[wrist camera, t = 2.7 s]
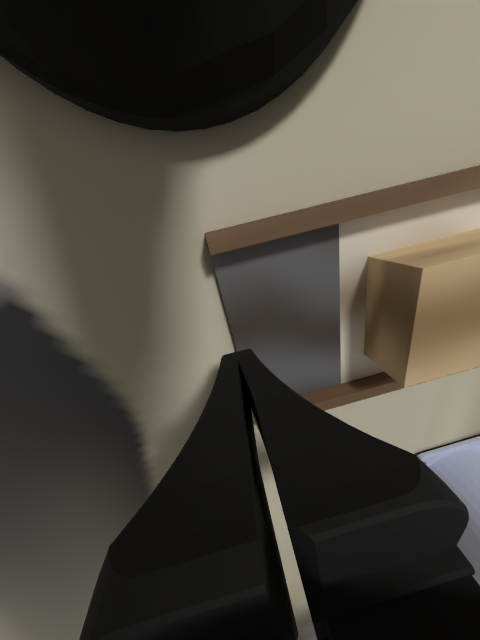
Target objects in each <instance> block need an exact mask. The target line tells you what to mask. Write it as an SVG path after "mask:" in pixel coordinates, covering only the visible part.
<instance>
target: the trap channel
mask: <svg viewBox="0 0 480 640" xmlns="http://www.w3.org/2000/svg"><path fill="white" fill-rule="evenodd" d="M476 228H480V165H479V166H475V167H471V168H467V169H463V170H459V171H455V172H451V173H447V174H443V175H438V176H434V177H430V178H426V179H422V180H418V181H414V182H410V183H406V184H402V185H398V186H394V187H390V188H386V189H382V190H378V191H374V192H370V193H366V194H362V195H357V196H353V197H349V198H345V199H341V200H337V201H333V202H329V203H325V204H321V205H317V206H313V207H309V208H305V209H301V210H297V211H293V212H289V213H285V214H280V215H276V216H272V217H268V218H264V219H260V220H256V221H252V222H248V223H244V224H240V225H236V226H232V227H228V228H224V229H220V230H216V231H212V232H208V233H205V237H206V241H207V244H208V248H209V252H210V255H211V258H212V261H213V265H214V269H215V272H216V276H217V280H218V283H219V287H220V291H221V294H222V298H223V302H224V305H225V309H226V313H227V316H228V320H229V324H230V328H231V331H232V335H233V339H234V342H235V346H236V350H237V352H238V351H241V350H245V349H249V348H250V349H251V350H253V352H254V353H255V355H256V356H257V357H258V358H259V360H260V361H261V362H262V363H263V364H264V365H265V366H266V367H267V368H268V369H269V370H270V371H271V372H272V373H273V374H274V375H275V376H276V377H278V378H279V379H280V380H281V381H282V382H283V383H285V384H286V385H287V386H288V387H290V388H291V389H292V390H293V391H295V392H296V393H298V394H299V395H300V396H302V397H303V398H305V399H306V400H308V401H309V402H311V403H312V404H314V405H315V406H317V407H318V408H320V409H322V410H323V411H325V410H328V409H332V408H335V407H339V406H342V405H346V404H349V403H353V402H356V401H360V400H363V399H367V398H370V397H374V396H378V395H381V394H385V393H388V392H392V391H395V390H399V389H402V388H404V387H402V386H401V385H400V384H399V383H398V382H396V381H395V380H394V379H393V378H392V377H391V376H389V375H388V374H387V373H386V372H385V371H383V370H382V369H381V368H380V367H379V366H377V365H376V364H375V363H374V362H373V361H372V360H370V359H369V358H368V357H367V356H366V355H364V338H365V316H366V294H367V272H368V256H372V255H376V254H380V253H383V252H387V251H391V250H395V249H399V248H403V247H407V246H411V245H414V244H418V243H422V242H426V241H430V240H434V239H438V238H442V237H445V236H449V235H453V234H457V233H461V232H465V231H469V230H473V229H476ZM479 367H480V366H479ZM472 369H473V368H472ZM465 371H466V370H465ZM461 372H462V371H461ZM458 373H459V372H458ZM454 374H455V373H454ZM451 375H452V374H451ZM447 376H448V375H447ZM444 377H445V376H444ZM440 378H441V377H440ZM437 379H438V378H437ZM433 380H434V379H433ZM430 381H431V380H430ZM426 382H427V381H426ZM419 384H420V383H419ZM412 386H413V385H412ZM408 387H409V386H408ZM405 388H406V387H405ZM255 421H256V420H255ZM256 424H257V423H256ZM257 428H258V426H257Z"/></svg>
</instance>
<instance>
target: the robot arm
mask: <svg viewBox="0 0 480 640" xmlns="http://www.w3.org/2000/svg"><path fill="white" fill-rule="evenodd" d="M251 409H252V412H253V414H254V417H255V420H256V423H257V426H258V429H259V431H260V434H261V437H262V440H263V443H264V446H265V448H266V451H267V454H268V457H269V461H270V464H271V467H272V471H273V475H274V478H275V482H276V486H277V490H278V493H279V497H280V501H281V505H282V508H283V512H284V516H285V520H286V523H287V527H288V531H289V535H290V539H291V542H292V546H293V550H294V554H295V557H296V561H297V565H298V569H299V572H300V576H301V580H302V584H303V588H304V591H305V595H306V599H307V603H308V606H309V610H310V614H311V618H312V621H313V625H314V629H315V633H316V636H317V640H480V436H478V437H474V438H471V439H468V440H464V441H461V442H457V443H454V444H451V445H447V446H444V447H441V448H437V449H434V450H430V451H427V452H424V453H420V454H419V455H417V456H416V455H414V454H412V453H410V452H407V451H405V450H403V449H400V448H398V447H396V446H393V445H391V444H389V443H386V442H384V441H382V440H379V439H377V438H375V437H372V436H370V435H368V434H366V433H364V432H362V431H360V430H358V429H356V428H354V427H352V426H350V425H348V424H346V423H345V422H343V421H341V420H339V419H338V418H336V417H334V416H332V415H330V414H329V413H327V412H325V411H323V410H322V409H320V408H318V407H317V406H315V405H314V404H312V403H311V402H309V401H308V400H306V399H305V398H303V397H302V396H300V395H299V394H298V393H296V392H295V391H293V390H292V389H291V388H290V387H288V386H287V385H286V384H285V383H283V382H282V381H281V380H280V379H279V378H278V377H276V376H275V375H274V374H273V373H272V372H271V371H270V370H269V369H268V368H267V367H266V366H265V365H264V364H263V363H262V362H261V361H260V360H259V358H258V357H257V356H256V355H255V353H254V352H253V350H251V349H250V348H249V349H245V350H241V351H238V352H234V353H230V354H227V355H223V356H222V358H221V363H220V367H219V371H218V374H217V377H216V380H215V383H214V386H213V389H212V391H211V394H210V396H209V399H208V401H207V403H206V406H205V408H204V410H203V412H202V414H201V416H200V418H199V420H198V422H197V424H196V426H195V428H194V430H193V432H192V433H191V435H190V437H189V439H188V440H187V442H186V444H185V445H184V447H183V449H182V450H181V452H180V453H179V455H178V457H177V458H176V460H175V461H174V463H173V464H172V466H171V467H170V468H169V470H168V471H167V473H166V474H165V476H164V477H163V478H162V480H161V481H160V483H159V484H158V486H157V487H156V488H155V490H154V491H153V493H152V494H151V495H150V497H149V498H148V499H147V501H146V502H145V503H144V504H143V506H142V507H141V508H140V509H139V511H138V512H137V513H136V514H135V515H134V517H133V518H132V519H131V521H130V522H129V523H128V524H127V525H126V527H125V528H124V529H123V530H122V532H121V533H120V534H119V535H118V537H117V538H116V539H115V540H114V542H113V543H112V544H111V545H110V546H109V549H108V552H107V555H106V558H105V560H104V563H103V566H102V568H101V571H100V573H99V576H98V580H97V583H96V586H95V589H94V593H93V596H92V599H91V602H90V606H89V609H88V612H87V616H86V619H85V623H84V626H83V629H82V633H81V636H80V639H79V640H297V639H298V630H297V626H296V622H295V618H294V613H293V609H292V605H291V601H290V596H289V592H288V588H287V584H286V579H285V575H284V571H283V566H282V562H281V558H280V554H279V549H278V545H277V541H276V536H275V532H274V528H273V523H272V519H271V515H270V510H269V506H268V502H267V497H266V493H265V488H264V484H263V480H262V475H261V471H260V466H259V460H258V454H257V447H256V440H255V433H254V426H253V419H252V412H251Z"/></svg>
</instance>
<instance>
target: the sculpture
mask: <svg viewBox="0 0 480 640" xmlns="http://www.w3.org/2000/svg"><path fill="white" fill-rule="evenodd" d="M357 1H358V0H0V55H1V56H2V57H3V58H5V59H6V60H7V61H8V62H10V63H11V64H12V65H13V66H15V67H16V68H17V69H18V70H20V71H21V72H23V73H25V74H26V75H28V76H29V77H31V78H32V79H34V80H35V81H37V82H38V83H40V84H41V85H43V86H44V87H46V88H47V89H49V90H50V91H52V92H53V93H55V94H57V95H59V96H61V97H62V98H64V99H66V100H68V101H70V102H72V103H74V104H76V105H78V106H80V107H82V108H84V109H86V110H87V111H90V112H93V113H95V114H98V115H101V116H104V117H106V118H109V119H112V120H114V121H117V122H120V123H124V124H129V125H133V126H137V127H141V128H146V129H152V130H168V131H185V130H197V129H206V128H210V127H214V126H217V125H221V124H225V123H228V122H232V121H234V120H236V119H238V118H241V117H243V116H245V115H247V114H250V113H252V112H254V111H256V110H258V109H259V108H261V107H262V106H264V105H265V104H267V103H268V102H270V101H271V100H273V99H274V98H276V97H277V96H279V95H280V94H281V93H282V92H284V91H285V90H286V89H287V88H288V87H289V86H290V85H291V84H293V83H294V82H295V81H296V80H297V79H298V78H299V77H300V76H302V75H303V73H304V72H305V71H306V70H307V69H308V68H309V67H310V65H311V64H312V63H313V62H314V61H315V60H316V58H317V57H318V56H319V55H320V54H321V53H322V51H323V50H324V49H325V48H326V46H327V45H328V43H329V42H330V40H331V39H332V38H333V36H334V35H335V33H336V32H337V30H338V29H339V27H340V26H341V24H342V23H343V22H344V20H345V19H346V17H347V16H348V14H349V13H350V11H351V10H352V8H353V7H354V5H355V4H356V2H357Z"/></svg>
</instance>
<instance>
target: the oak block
mask: <svg viewBox="0 0 480 640" xmlns="http://www.w3.org/2000/svg"><path fill="white" fill-rule="evenodd" d="M364 355H366V356H367V357H368V358H369V359H370V360H372V361H373V362H374V363H375V364H376V365H377V366H379V367H380V368H381V369H382V370H383V371H385V372H386V373H387V374H388V375H389V376H391V377H392V378H393V379H394V380H395V381H396V382H398V383H399V384H400V385H401V386H402V387H404V388H405V387H408V386H412V385H416V384H419V383H423V382H426V381H430V380H433V379H437V378H440V377H444V376H447V375H451V374H454V373H458V372H461V371H465V370H469V369H472V368H476V367H479V366H480V228H476V229H473V230H469V231H465V232H461V233H457V234H453V235H449V236H445V237H442V238H438V239H434V240H430V241H426V242H422V243H418V244H414V245H411V246H407V247H403V248H399V249H395V250H391V251H387V252H383V253H380V254H376V255H372V256H368V272H367V294H366V316H365V338H364Z"/></svg>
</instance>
